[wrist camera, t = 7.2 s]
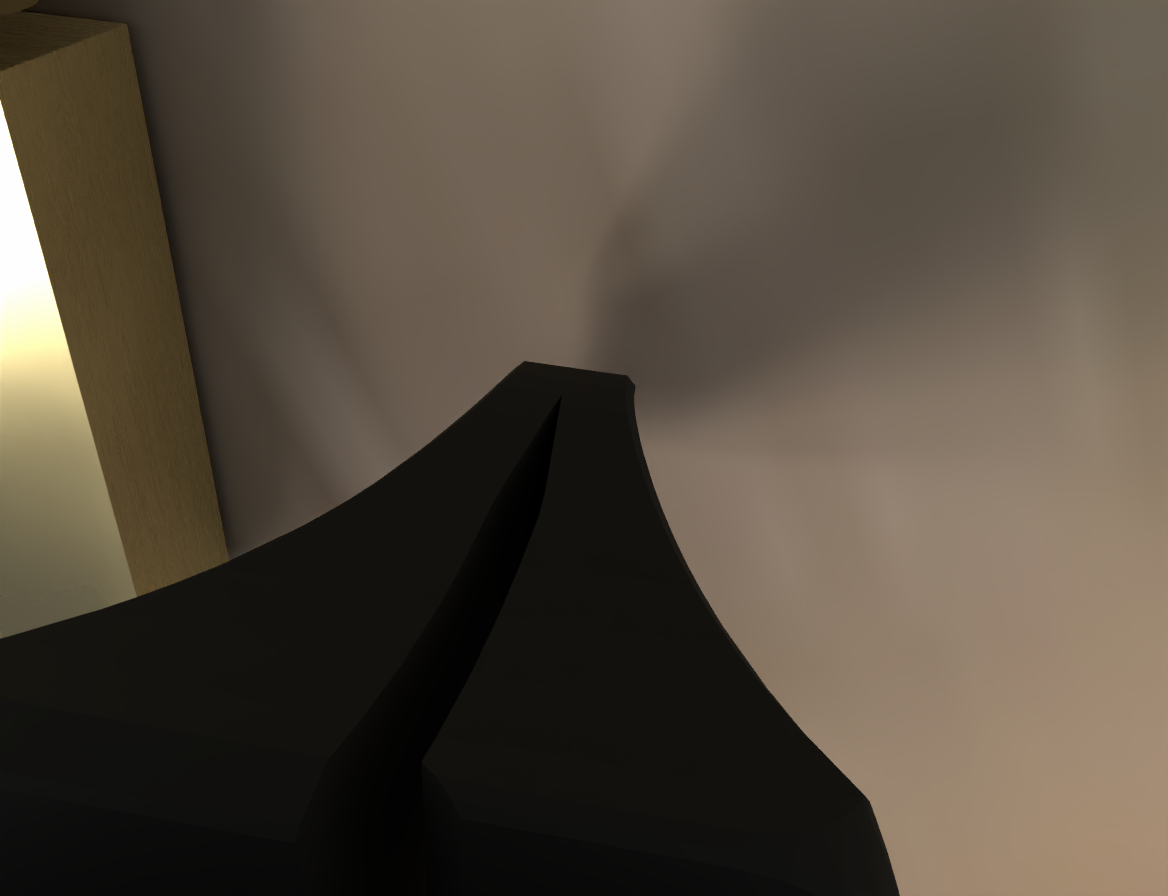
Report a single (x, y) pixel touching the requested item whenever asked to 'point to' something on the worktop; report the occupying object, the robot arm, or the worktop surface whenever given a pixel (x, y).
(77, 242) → the brass plate
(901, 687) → the worktop surface
